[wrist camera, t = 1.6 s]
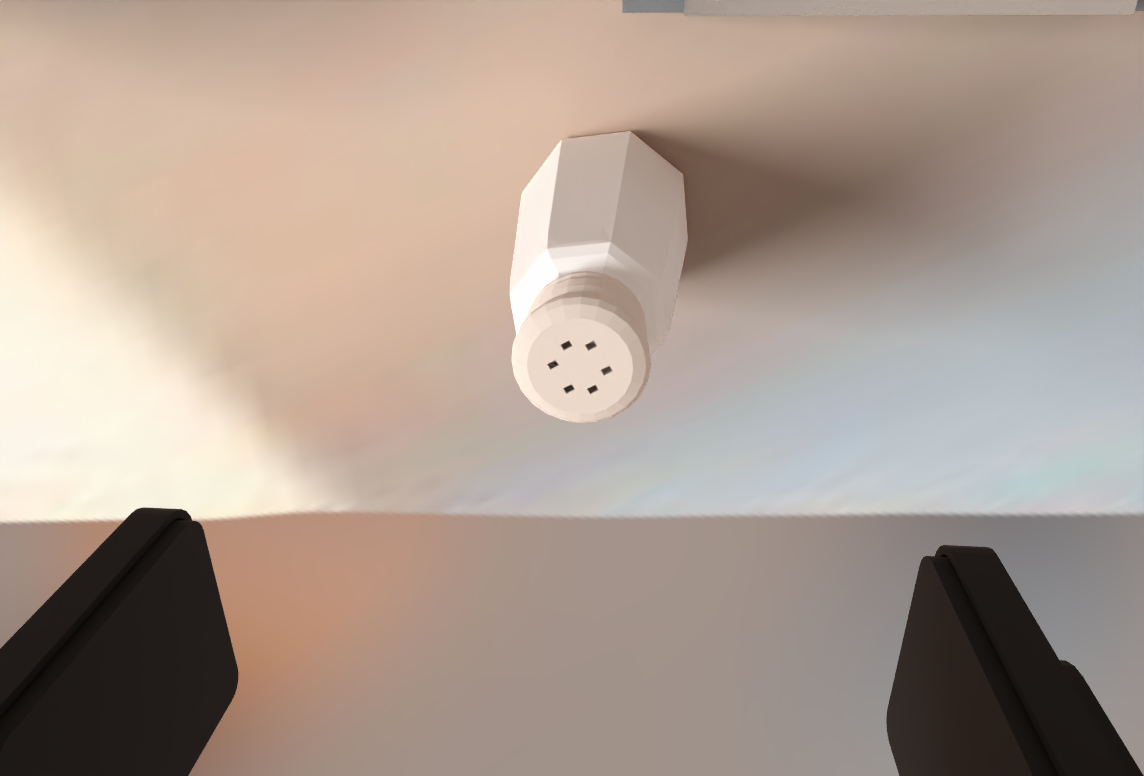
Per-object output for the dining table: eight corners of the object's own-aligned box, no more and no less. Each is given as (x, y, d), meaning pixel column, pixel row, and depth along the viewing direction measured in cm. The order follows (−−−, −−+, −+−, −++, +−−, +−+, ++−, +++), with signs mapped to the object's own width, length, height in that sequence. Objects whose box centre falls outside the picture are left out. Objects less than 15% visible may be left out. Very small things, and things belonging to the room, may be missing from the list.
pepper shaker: (721, 248, 26) (763, 418, 17) (574, 322, 28) (534, 517, 18) (641, 91, 25) (636, 181, 15) (487, 181, 26) (391, 315, 16)
